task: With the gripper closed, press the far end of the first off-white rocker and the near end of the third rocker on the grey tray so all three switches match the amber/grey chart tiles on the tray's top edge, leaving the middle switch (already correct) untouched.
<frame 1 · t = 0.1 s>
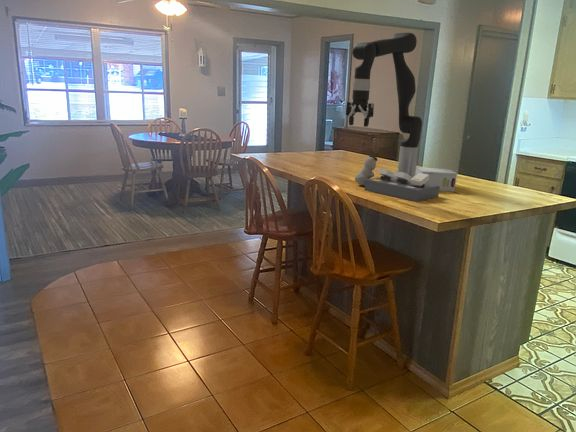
hand: (358, 125, 212), 29 cm above the countertop, fingers open, 8 cm apart
grey tray: (400, 193, 212), on the countertop
figurine: (364, 185, 226), on the countertop
switch 1: (386, 173, 216), point 8 cm above the countertop, hinge at -20.0°
switch 2: (402, 176, 209), point 8 cm above the countertop, hinge at -20.0°
switch 3: (419, 179, 203), point 8 cm above the countertop, hinge at 20.0°
supplement box: (433, 188, 228), on the countertop
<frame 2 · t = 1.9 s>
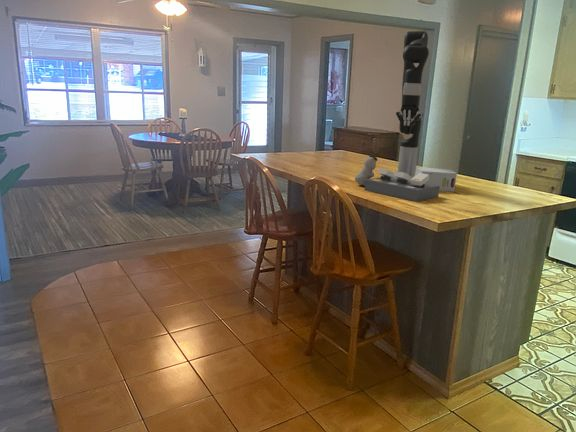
hand: (407, 134, 204), 27 cm above the countertop, fingers closed
nothing on the countertop moved.
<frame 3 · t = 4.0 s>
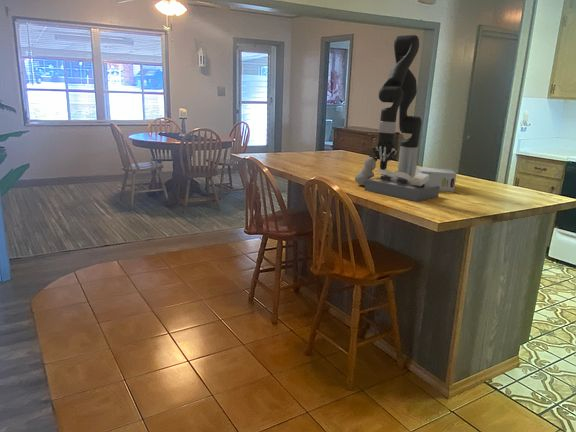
hand: (382, 169, 213), 10 cm above the countertop, fingers closed
switch 1: (386, 173, 216), point 8 cm above the countertop, hinge at -17.9°, touching gripper
everything else where it was.
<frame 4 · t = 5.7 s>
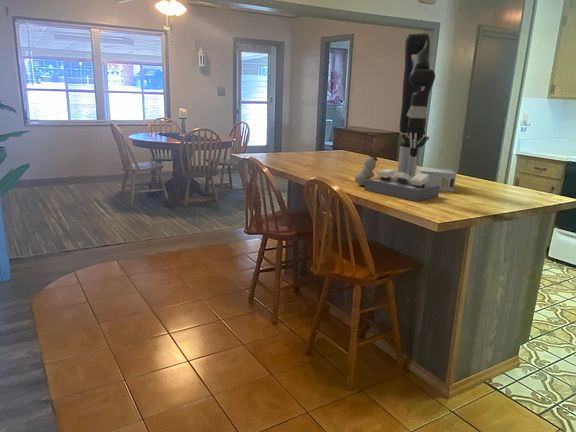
hand: (413, 156, 204), 17 cm above the countertop, fingers closed
switch 1: (386, 173, 216), point 8 cm above the countertop, hinge at 5.7°
everything else where it was.
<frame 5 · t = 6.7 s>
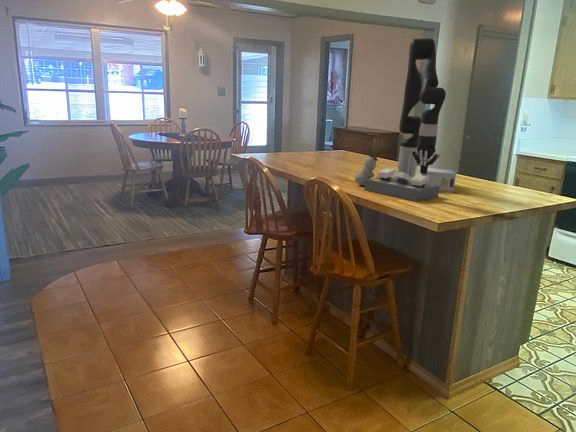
hand: (423, 173, 204), 10 cm above the countertop, fingers closed
switch 1: (386, 173, 216), point 8 cm above the countertop, hinge at 10.0°
switch 3: (419, 179, 203), point 8 cm above the countertop, hinge at 19.9°, touching gripper
everything else where it was.
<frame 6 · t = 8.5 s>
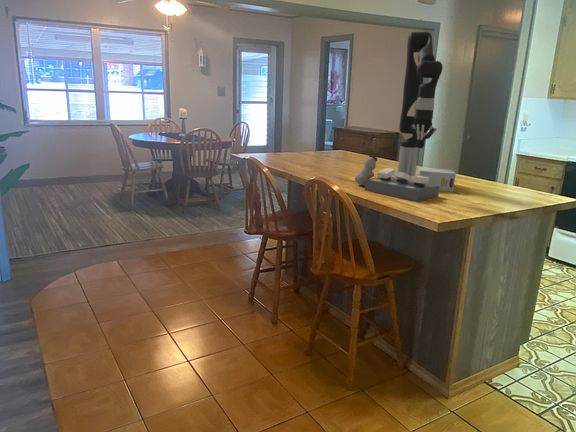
hand: (420, 148, 206), 21 cm above the countertop, fingers closed
switch 1: (386, 173, 216), point 8 cm above the countertop, hinge at 12.8°
switch 3: (419, 179, 203), point 8 cm above the countertop, hinge at -4.9°
everything else where it was.
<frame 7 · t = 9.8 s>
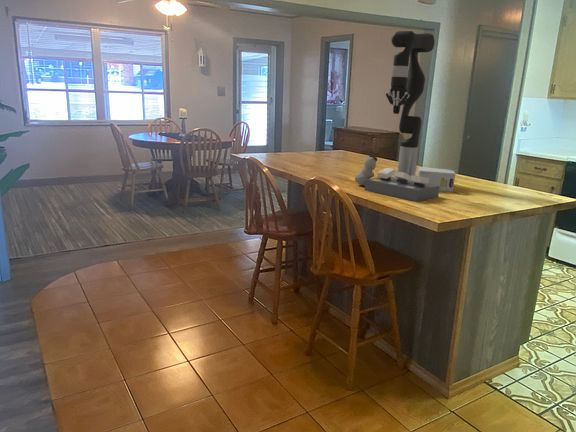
hand: (396, 113, 221), 35 cm above the countertop, fingers closed
switch 1: (386, 173, 216), point 8 cm above the countertop, hinge at 13.3°
switch 3: (419, 179, 203), point 8 cm above the countertop, hinge at -10.8°
everything else where it was.
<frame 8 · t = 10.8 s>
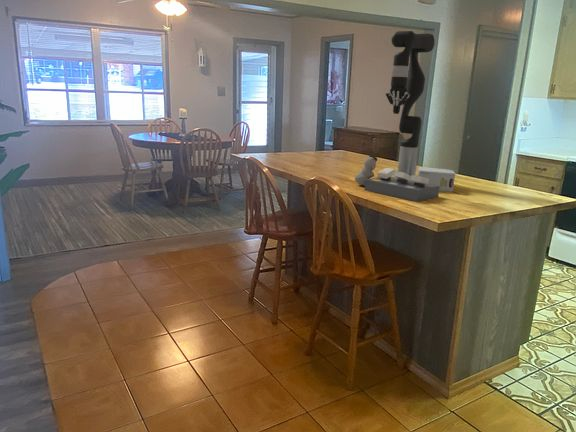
hand: (396, 113, 221), 35 cm above the countertop, fingers closed
switch 3: (419, 179, 203), point 8 cm above the countertop, hinge at -12.6°
everything else where it was.
at the end: switch 1 at +14° (first picture: -20°); switch 2 at -20° (first picture: -20°); switch 3 at -13° (first picture: +20°) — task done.
